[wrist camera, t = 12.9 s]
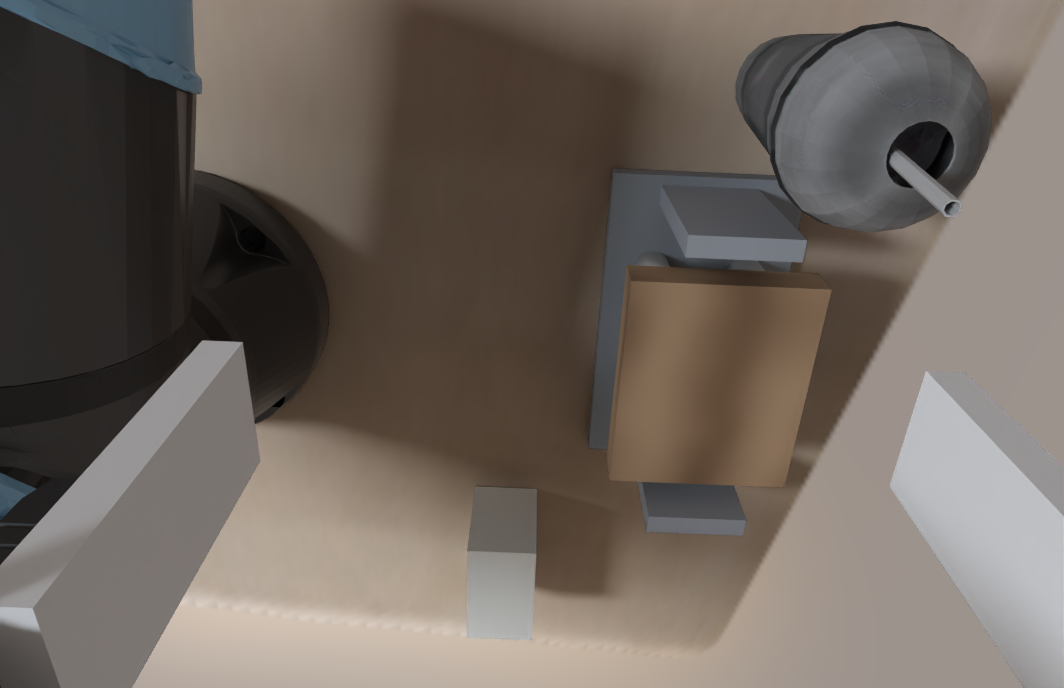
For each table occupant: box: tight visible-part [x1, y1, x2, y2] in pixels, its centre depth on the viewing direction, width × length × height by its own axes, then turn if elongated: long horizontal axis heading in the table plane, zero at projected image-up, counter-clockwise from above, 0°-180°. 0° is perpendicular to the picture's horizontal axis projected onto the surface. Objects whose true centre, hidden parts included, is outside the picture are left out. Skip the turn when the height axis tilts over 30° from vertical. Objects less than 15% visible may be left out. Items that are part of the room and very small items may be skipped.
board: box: [607, 265, 832, 488], centre depth 37 cm, size 9×11×2 cm
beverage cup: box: [736, 21, 992, 232], centre depth 28 cm, size 7×7×20 cm
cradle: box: [588, 168, 807, 536], centre depth 39 cm, size 10×17×9 cm, turn 178°
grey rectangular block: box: [467, 486, 537, 640], centre depth 48 cm, size 4×7×6 cm, turn 178°
